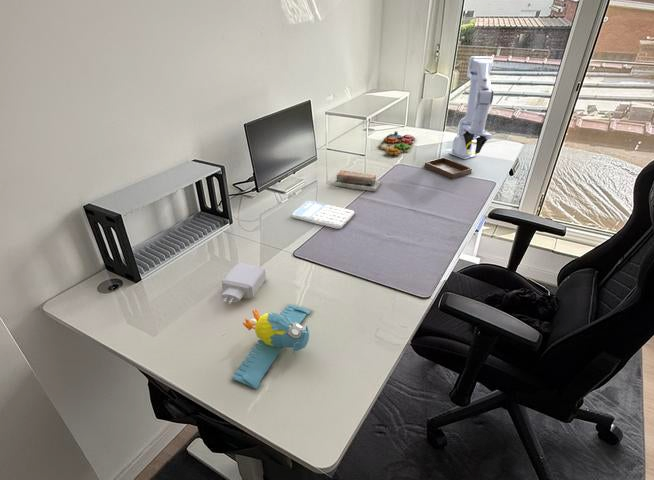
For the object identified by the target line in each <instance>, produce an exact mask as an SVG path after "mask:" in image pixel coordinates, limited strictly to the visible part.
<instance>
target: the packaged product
mask: <svg viewBox="0 0 654 480" xmlns="http://www.w3.org/2000/svg"><path fill="white" fill-rule="evenodd" d="M335 178H336V179H335V181H334V186H335V187H341V188H347V189H353V190H363V191H367V192H373V193H375V192H376V191H377V189H378V187H380V186H379V185H380V184H381V180H378V179H376V178H377V175H375V174H371V173H370V174H369V173H364V172H363V173H362V172H358V171H357V172H356V171H350V170H340V171H339V172H338V173H337V174H336V177H335Z"/></svg>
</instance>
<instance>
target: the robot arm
mask: <svg viewBox="0 0 654 480" xmlns="http://www.w3.org/2000/svg"><path fill="white" fill-rule="evenodd" d="M493 64H494V57H493V56H479V55H478V56H474V55H471V56H470V57H469V58H468V63H467V69H466V70H467V71H466V77H467V78H469V79H470V83H469V92H468V99H467V105H466V106H467V107H466V111H465V112H466V113H465V116H464V117H462V118H461V119H460V120H459V121H458V125H457V131H456V136H455V137H454V139H453V142H452V146H451V152H449V154H450V155H452V156H455V157H458V158H460V159H463V160H466V159H467V160H468V159H470V158H474V157H476V155H472V154H468V153H467V152H466V146H467V144H468V143H470V142H471V141H472V140H476V144H473V143H471V144H469V145H468V147H467V151H468V152H469V153H473V150H474V145H476V146H475V151H474V153H477V154H480V153H481V150H482V149H483V147H484V145H485V143H487V141H488V140H491V139H492V136H493V134H492V133H489V132H488V131H487V130H485V128H486V123H487V120H488V119H487V118H488V114H489V111H490V106H491V105H492V103H493V100H494V89H493V88H491V87H492V86H491V80H490V78H489V77H488V76H489V75H490V73H491V71H492V68H493Z"/></svg>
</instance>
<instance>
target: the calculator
mask: <svg viewBox="0 0 654 480" xmlns="http://www.w3.org/2000/svg"><path fill="white" fill-rule="evenodd" d="M291 216H292V218H294V219H297V220H300V221H304V222H308V223H312V224H317V225H320V226H324V227H327V228H330V229H331V228H332V229H337V230H339V229H342V228H343V227H344V226H345V225H346V224H347V223H348V222H349V221H350V220H351V219H352V218H353V217H354V216H355V211H354V210H352V209H348V208H344V207H339V206H335V205H331V204H327V203H322V202H318V201H314V200H307V201H305V203H303V204H302V205H301V206H299V207H298V208H297V209H296V210H294V211H293V212H292V215H291Z"/></svg>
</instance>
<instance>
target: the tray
mask: <svg viewBox="0 0 654 480" xmlns="http://www.w3.org/2000/svg"><path fill="white" fill-rule="evenodd" d="M424 168H426V169H428V170H431V171H433V172H435V173H437V174H440V175H442V176H444V177H446V178H450V179H451V180H454V179H457V178H460V177H463V176H468V175H471V174H472V170H473V168H472V167H469V166H467V165H464V164H462V163H460V162H458V161H454V160H452V159H449V158H447V157H445V156H444V157H443V156H442V157H438V158H436V159H431V160H428V161H425V162H424Z"/></svg>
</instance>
